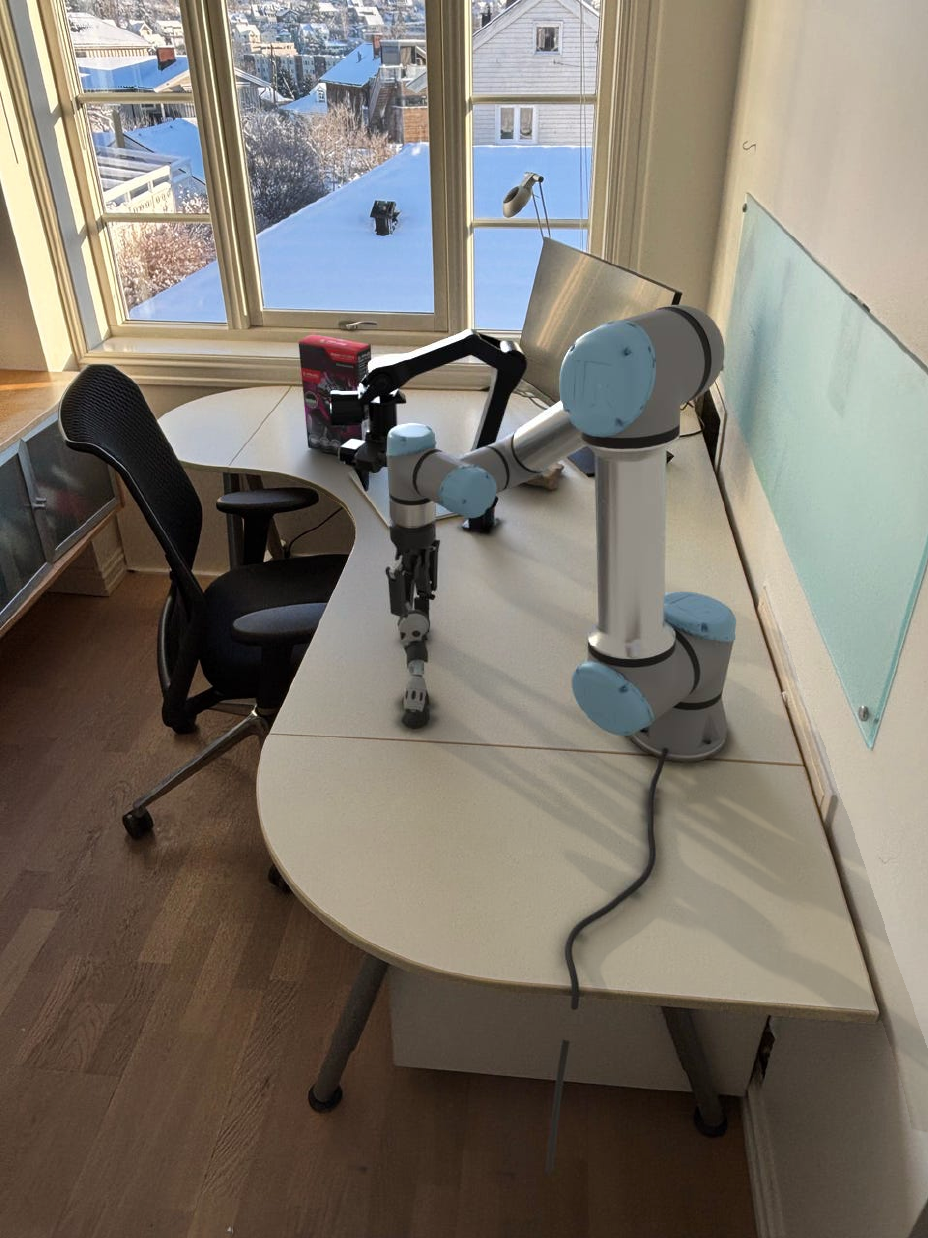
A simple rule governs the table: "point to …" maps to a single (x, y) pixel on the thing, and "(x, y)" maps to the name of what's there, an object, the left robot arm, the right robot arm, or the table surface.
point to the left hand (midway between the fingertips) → (386, 494)
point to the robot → (415, 666)
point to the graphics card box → (331, 387)
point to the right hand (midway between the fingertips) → (415, 636)
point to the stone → (548, 477)
